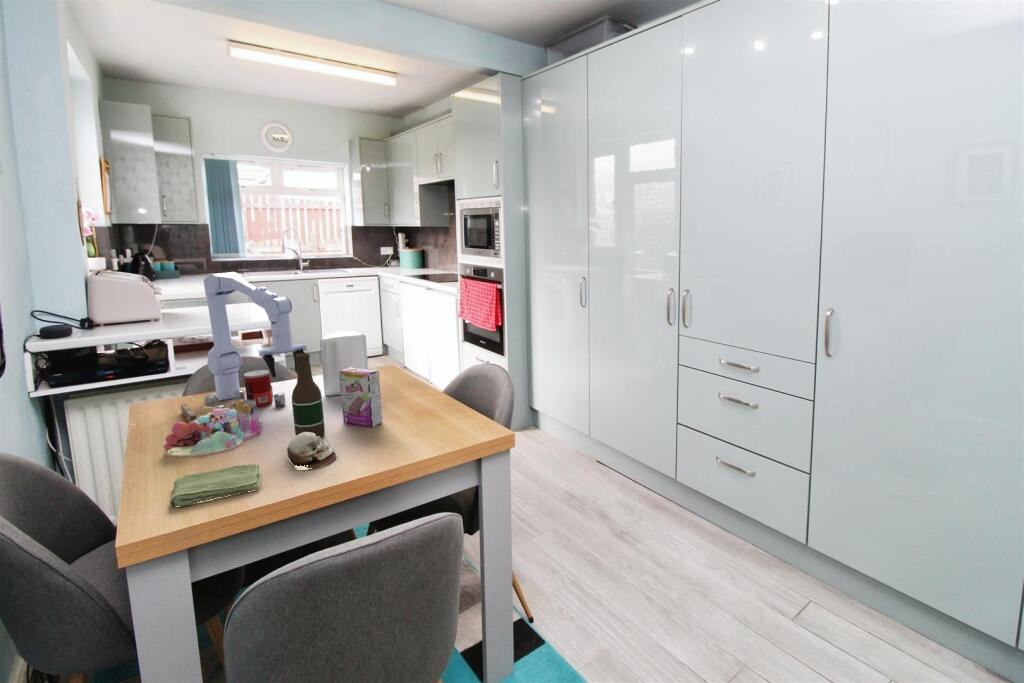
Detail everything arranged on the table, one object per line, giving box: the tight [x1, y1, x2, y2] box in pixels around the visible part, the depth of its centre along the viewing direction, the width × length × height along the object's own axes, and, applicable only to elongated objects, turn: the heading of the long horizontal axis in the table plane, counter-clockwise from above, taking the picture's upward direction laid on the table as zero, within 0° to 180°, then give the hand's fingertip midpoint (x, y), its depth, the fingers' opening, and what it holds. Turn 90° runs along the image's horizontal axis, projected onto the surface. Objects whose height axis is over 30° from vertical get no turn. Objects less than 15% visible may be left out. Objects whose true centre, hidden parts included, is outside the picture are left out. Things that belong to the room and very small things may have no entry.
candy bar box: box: [339, 367, 383, 428], centre depth 161 cm, size 11×5×16 cm, turn 65°
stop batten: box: [180, 403, 198, 423], centre depth 170 cm, size 16×2×3 cm, turn 40°
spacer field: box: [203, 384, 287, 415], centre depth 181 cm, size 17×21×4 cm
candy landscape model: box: [163, 400, 263, 458], centre depth 153 cm, size 25×24×9 cm
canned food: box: [243, 369, 273, 409], centre depth 183 cm, size 8×8×11 cm
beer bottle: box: [291, 352, 326, 440], centre depth 150 cm, size 8×8×24 cm
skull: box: [286, 432, 337, 470], centre depth 136 cm, size 12×10×10 cm
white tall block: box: [319, 330, 369, 397], centre depth 196 cm, size 15×14×22 cm
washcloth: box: [169, 463, 262, 508], centre depth 122 cm, size 13×18×3 cm
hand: (285, 374), depth 181 cm, fingers open, 7 cm apart
